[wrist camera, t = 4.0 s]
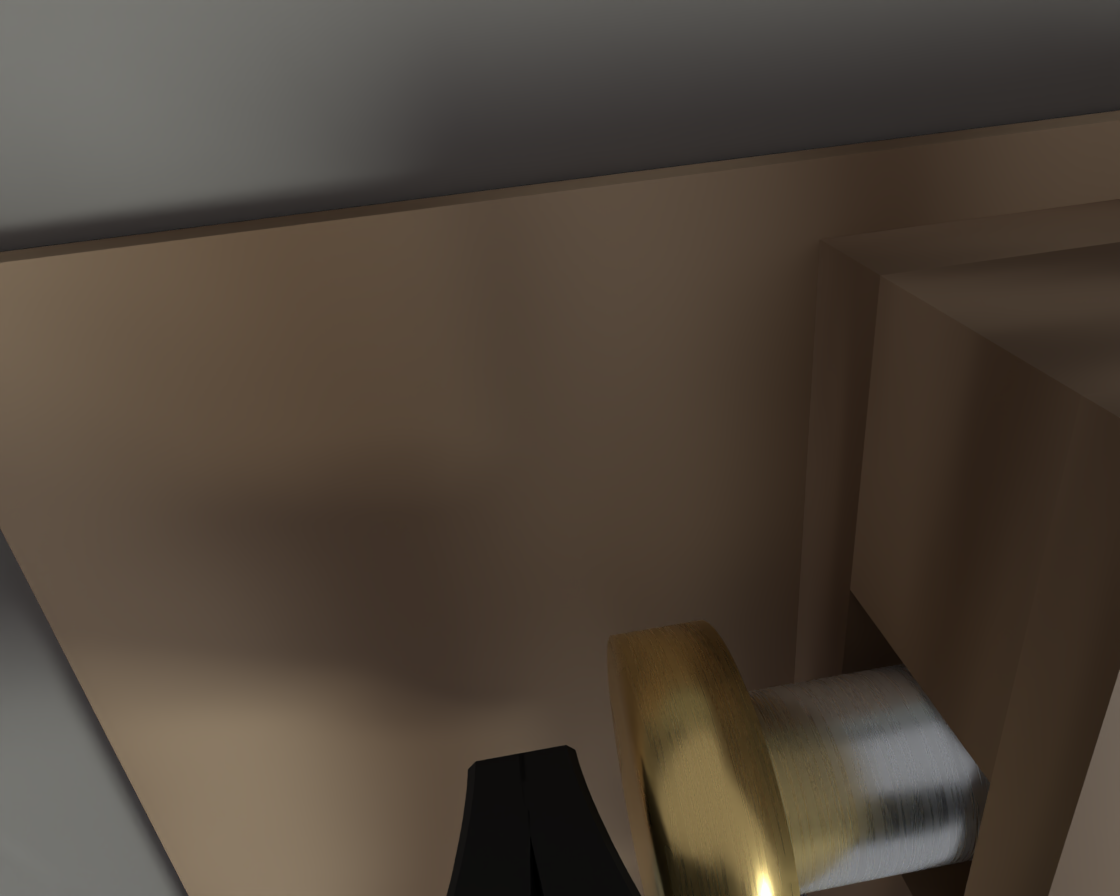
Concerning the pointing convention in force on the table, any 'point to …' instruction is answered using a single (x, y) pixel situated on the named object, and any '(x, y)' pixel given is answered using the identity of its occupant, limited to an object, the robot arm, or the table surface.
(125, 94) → the table surface
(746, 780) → the shaft
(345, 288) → the bearing block
